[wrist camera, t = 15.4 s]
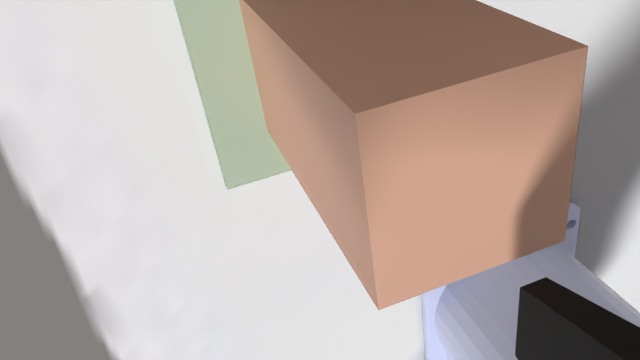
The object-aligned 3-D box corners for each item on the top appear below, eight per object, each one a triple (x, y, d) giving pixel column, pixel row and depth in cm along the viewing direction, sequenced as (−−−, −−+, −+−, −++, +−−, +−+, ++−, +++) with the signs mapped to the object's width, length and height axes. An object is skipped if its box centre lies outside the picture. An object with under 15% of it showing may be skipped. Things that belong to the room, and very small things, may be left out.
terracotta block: (390, 95, 20) (564, 240, 13) (267, 130, 19) (378, 310, 12) (379, -39, 18) (588, 46, 10) (237, -6, 17) (354, 113, 9)
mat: (431, 122, 22) (435, 125, 21) (225, 185, 20) (227, 189, 20) (422, -114, 17) (427, -113, 17) (158, -58, 16) (158, -56, 15)
